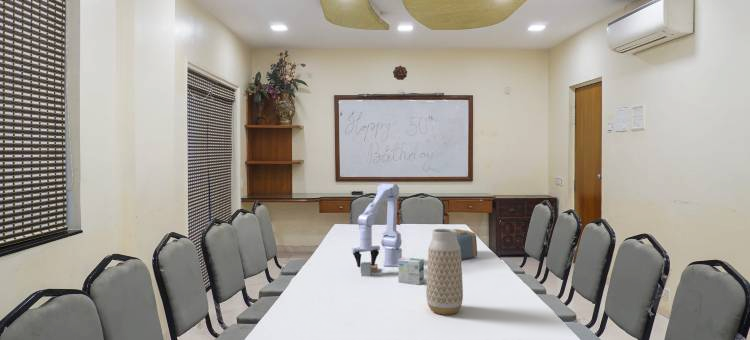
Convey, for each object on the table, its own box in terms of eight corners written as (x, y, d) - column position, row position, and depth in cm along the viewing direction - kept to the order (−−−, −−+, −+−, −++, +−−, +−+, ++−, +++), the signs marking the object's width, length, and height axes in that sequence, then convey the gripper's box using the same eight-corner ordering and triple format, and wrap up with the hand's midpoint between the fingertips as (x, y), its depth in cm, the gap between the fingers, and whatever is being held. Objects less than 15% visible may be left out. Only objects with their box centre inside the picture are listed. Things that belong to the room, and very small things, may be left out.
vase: (438, 319, 166) (438, 235, 164) (419, 307, 178) (419, 229, 177) (470, 313, 171) (470, 232, 170) (449, 302, 184) (450, 226, 182)
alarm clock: (478, 257, 261) (478, 230, 261) (458, 261, 252) (458, 233, 252) (458, 252, 275) (458, 226, 274) (438, 256, 266) (438, 229, 265)
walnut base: (377, 269, 237) (377, 263, 237) (376, 273, 229) (376, 267, 229) (362, 269, 238) (362, 263, 238) (360, 273, 230) (360, 267, 230)
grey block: (370, 273, 228) (370, 262, 228) (370, 276, 223) (370, 264, 223) (361, 273, 228) (361, 261, 228) (361, 276, 224) (361, 264, 223)
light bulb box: (424, 281, 214) (424, 258, 214) (419, 285, 208) (419, 261, 208) (403, 278, 219) (403, 256, 218) (397, 282, 213) (397, 259, 212)
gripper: (375, 236, 232) (375, 262, 232) (349, 238, 225) (349, 265, 226) (381, 238, 225) (381, 265, 226) (354, 240, 219) (355, 269, 219)
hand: (365, 266), depth 225 cm, fingers open, 7 cm apart
